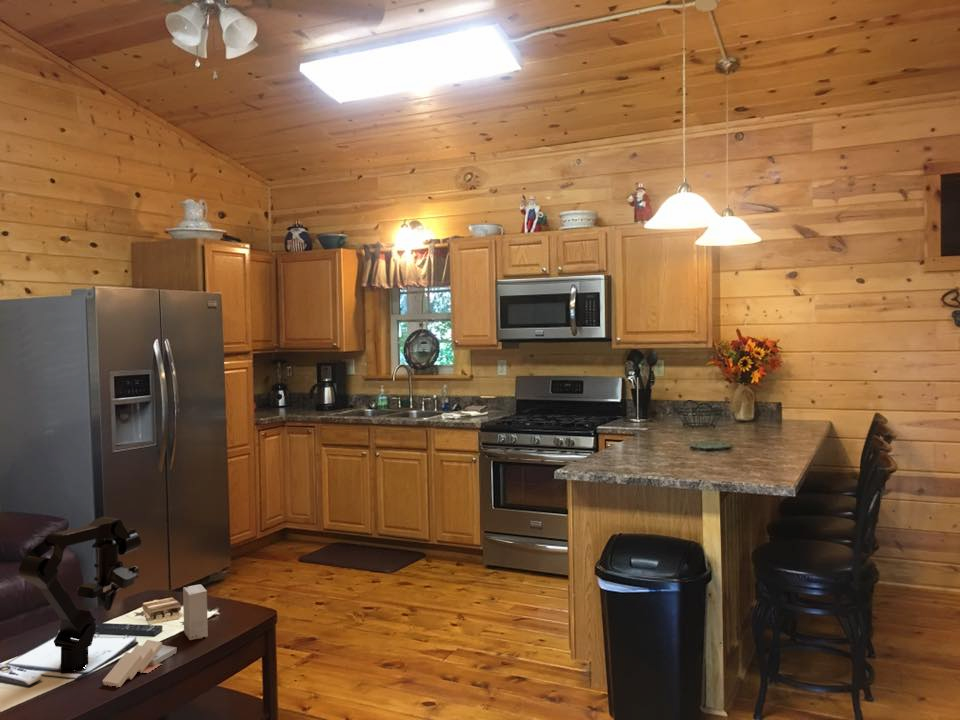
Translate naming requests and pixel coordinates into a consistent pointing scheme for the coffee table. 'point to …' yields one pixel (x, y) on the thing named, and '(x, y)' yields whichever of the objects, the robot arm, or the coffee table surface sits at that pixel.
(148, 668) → the tile
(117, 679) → the domino
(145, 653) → the domino
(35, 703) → the coffee table surface
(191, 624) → the skincare box
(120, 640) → the coffee table surface
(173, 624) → the coffee table surface
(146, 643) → the domino
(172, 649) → the domino
